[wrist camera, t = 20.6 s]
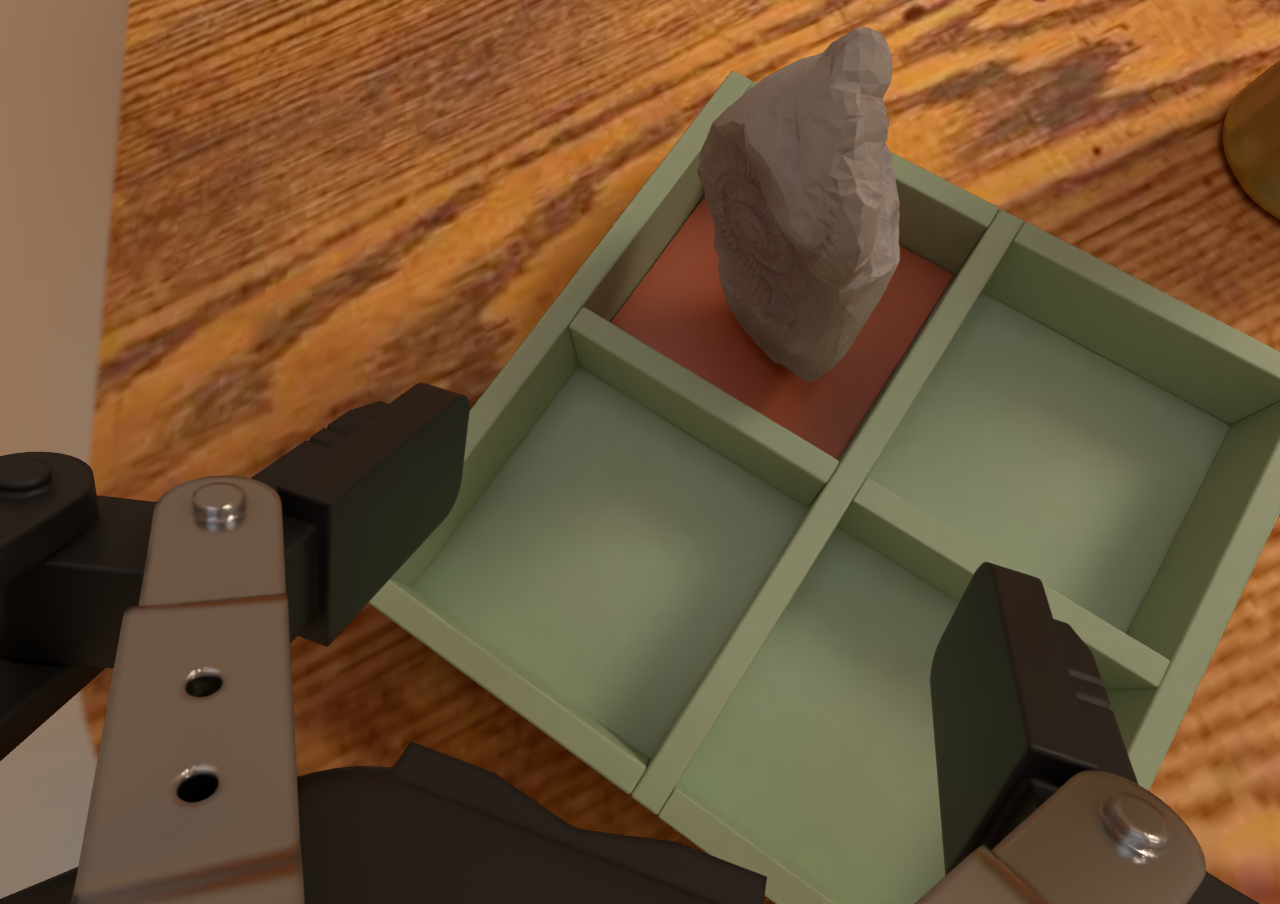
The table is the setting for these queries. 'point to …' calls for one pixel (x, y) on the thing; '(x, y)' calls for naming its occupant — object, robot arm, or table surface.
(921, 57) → the table surface
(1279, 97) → the vase
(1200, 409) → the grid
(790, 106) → the grey brown rock
